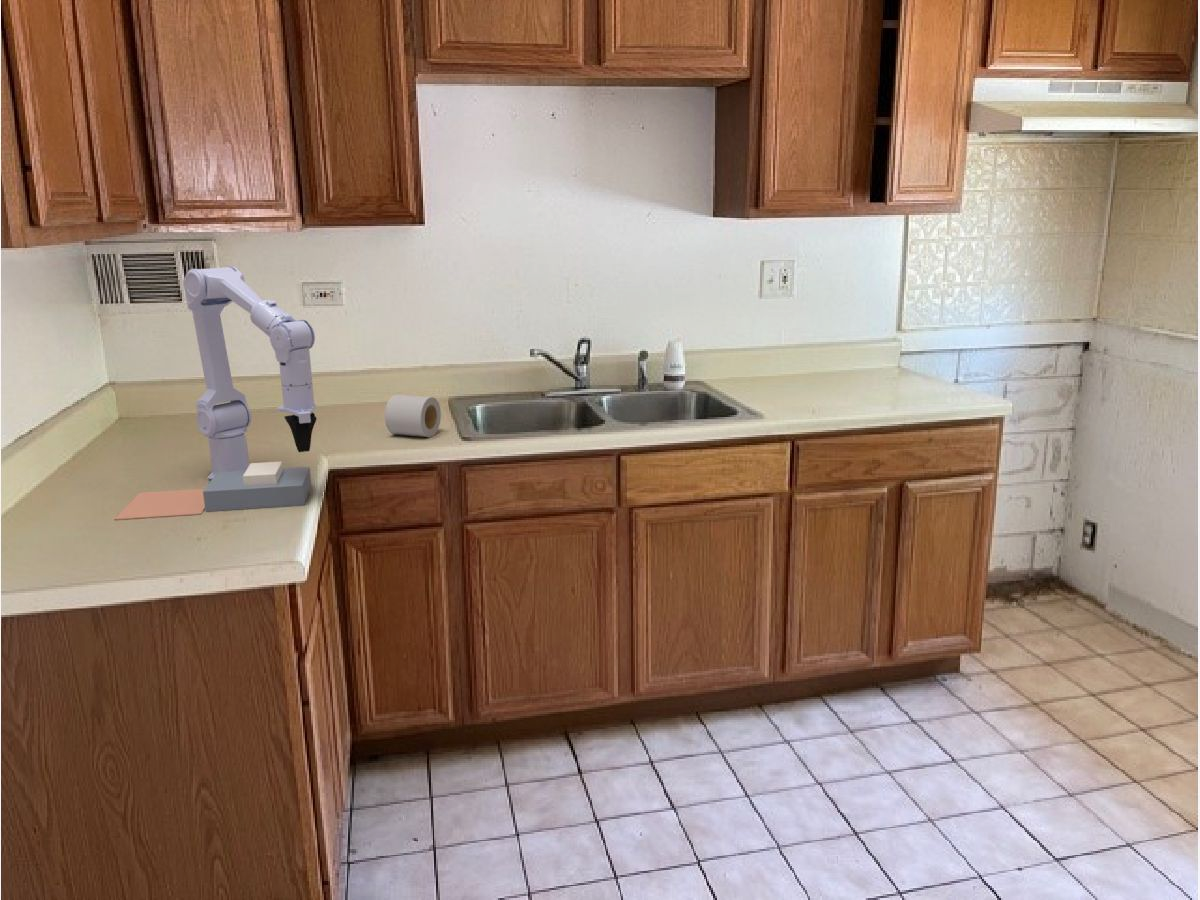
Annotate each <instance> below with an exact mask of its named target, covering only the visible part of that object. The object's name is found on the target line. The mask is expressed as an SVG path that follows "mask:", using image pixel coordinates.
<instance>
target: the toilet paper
mask: <svg viewBox="0 0 1200 900" xmlns="http://www.w3.org/2000/svg"><path fill="white" fill-rule="evenodd" d="M439 403H440V402H439V401H438V400H437V399H436V397H434V396H433V397H432V396H424V395H423V396H420V395H406V394H394V395H392V396H390V398H389V399H388V401H387V403H386V406H385V410H384V421H385V426H386V428H387V429H386V430H388V432H389V433H390V434H392V435H400V436H411V437H413V436H414V437H424V438H432V437H434V436H435V435H436V434H437V432H438V430H439V428H440V424H441V417H442V416H441V415H442V413H441V407H440V404H439ZM433 435H434V436H433ZM431 436H432V437H431Z"/></svg>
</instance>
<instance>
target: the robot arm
mask: <svg viewBox="0 0 1200 900" xmlns="http://www.w3.org/2000/svg"><path fill="white" fill-rule="evenodd" d="M182 284H183V288H184V294H185V300H186V304H187V309H188V310H189V311H191V312H192V318H193V323H194V328H195V334H196V340H197V345H198V350H199V355H200V361H201V366H202V372H203V376H204V383H205V386H206V387H205V388H206V391H205V392H204V393H203V394H202V395H201V396H200V397H199V398H198V399H197V400H196V401H195V405H196V416H195V417H196V418H195V419H196V426H197V428H198V429H199V431H200V432H201V433H202V434H203V435H204V437H206V438H208V445H209V446H208V447H209V455H210V462H211V463H210V464H211V470H212V471H211V472H210V474H209V475H208V476H207V480H212V479H213V477H214V476H215V474H216V473H217V472H227V471H244V470H247V469H248V467H249V465H250V464H251V463H252V462H250V458H249V449H248V441H247V437H246V435H245V433H247V432H248V428H249V427H250V425H251V423H252V411H251V409H250V407H249V404H248V402H247V399H246V395H245V394H244V393H243V392H241V391H239V390H238V389H236V388H235V387H234V385H233V384H234V383H233V379H232V373H231V367H230V362H229V361H230V360H229V356H228V351H227V346H226V340H225V335H224V330H223V329H224V328H223V324H222V318H221V313H222V312H223V310H224V309H225V307H227V306H229V305H230V304H231V303H232V302H233V303H235V304H236V305H237V306H239V307H240V308H241V309H243V310H245V311H246V312H248V313H249V315H250V316H249V318H250V321H251V323H252V324H253V325H254V326H256V327H257V328H258V329H259V330H260V331H262V332H263V333H264V334H265V335H266V336H267V337H269V342H270V345H271V346H272V349H273V351H274V353H275V359H276V361H277V362H278V363H279V374H280V382H281V393H282V401H283V405H282V406H281V405H280V406H277V412H278V413H281V412H284V413H287V414H290V415H285V416H284V420H285V422H287V424H288V427H289V428H290V431H291V434H292V437H293V440H294V444H295V446H296V450H297V451H298V453H305V452H310V449H311V442H312V434H313V429H314V426H315V424H316V422H317V420H318V419H317V417H316V414H315V413H314V412H315V410H316V408H317V406H316V405H317V404H316V403H315V395H314V387H313V386H314V385H313V374H312V365H311V362H312V361H311V355H310V354H311V353H310V352H311V351H310V349H312V348H313V346H314V345H315V341H316V339H315V338H316V336H315V331H314V329H313V326H312V325H311V324H310V323H309V321H308V319H304V318H301V319H298V318H294V317H292V315H291V314H289V313H287V312H286V311H285V310H284V309H283V308H281V307H280V306H279V305H278V303H277V302H276V301H275V300H274V299H272V300H271V299H264V300H263V299H262V298H260V297H259V295H258V294H257V293H256V292H255V291H254V290H253V289H252V288H251V287H250V286H249V285H248V284H247V283H246V282H245V277H244V274H243V272H241V271H240V270H239V269H238V268H237V267H235V266H234V265H233V266H232V265H229V266H226V267H211V268H190V269H189V270H187V272H186V273H185V276H184V279H183V281H182Z"/></svg>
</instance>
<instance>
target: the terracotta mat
mask: <svg viewBox="0 0 1200 900" xmlns="http://www.w3.org/2000/svg"><path fill="white" fill-rule="evenodd" d="M204 490H205V488H194V489H180V490H161V491H147V492H146V491H143V492H139V493H138V494H137V495H135V497H134V498H133V500H131V502H130V503H128V505H126V507H125V508H124V509H122V511H121V512H119V514H118V515H117V516H116V517H115V519H114V521H120V520H121V521H122V520H123V521H124V520H135V519H136V520H137V519H152V518H166V517H169V518H170V517H181V516H182V517H183V516H196V515H202V514H203V512H204V511H205V504H204V496H203V491H204Z"/></svg>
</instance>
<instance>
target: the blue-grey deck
mask: <svg viewBox="0 0 1200 900" xmlns="http://www.w3.org/2000/svg"><path fill="white" fill-rule="evenodd" d="M310 468H311V467H310V466H299V467H298V466H297V467H283V472H282V474H281V476H280V478H279V480H278V482H277V484H270V485H254V486H244V483H243V475H244V473H245V472H246V470H244V471H227V472H217V473H216V474H215V476H214V477H213V479H210V481H209V483H208V484H207V485H206V487H205V488H204V489H205V490H204V491H203V496H204V504H205V509H204V511H205V512H206V513H207V512H218V511H219V512H220V511H235V510H251V509H264V508H280V507H294V506H295V507H296V506H305V503H306V500H307V498H308V495H309V493H310V490H311V488H312V479H311V478H312V477H311V476H312V475H311V469H310Z"/></svg>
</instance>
